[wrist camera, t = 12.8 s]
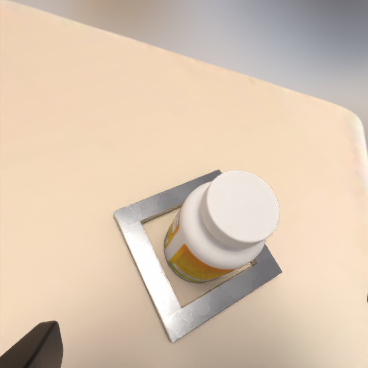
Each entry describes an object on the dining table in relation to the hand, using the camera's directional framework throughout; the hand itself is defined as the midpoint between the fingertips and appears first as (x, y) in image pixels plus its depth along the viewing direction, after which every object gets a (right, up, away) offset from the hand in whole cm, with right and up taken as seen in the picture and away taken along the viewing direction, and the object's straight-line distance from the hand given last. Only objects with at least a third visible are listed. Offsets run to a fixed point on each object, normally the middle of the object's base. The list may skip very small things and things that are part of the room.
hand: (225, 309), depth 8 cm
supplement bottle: (0, -2, +15) cm, 15 cm away
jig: (0, -1, +15) cm, 15 cm away
